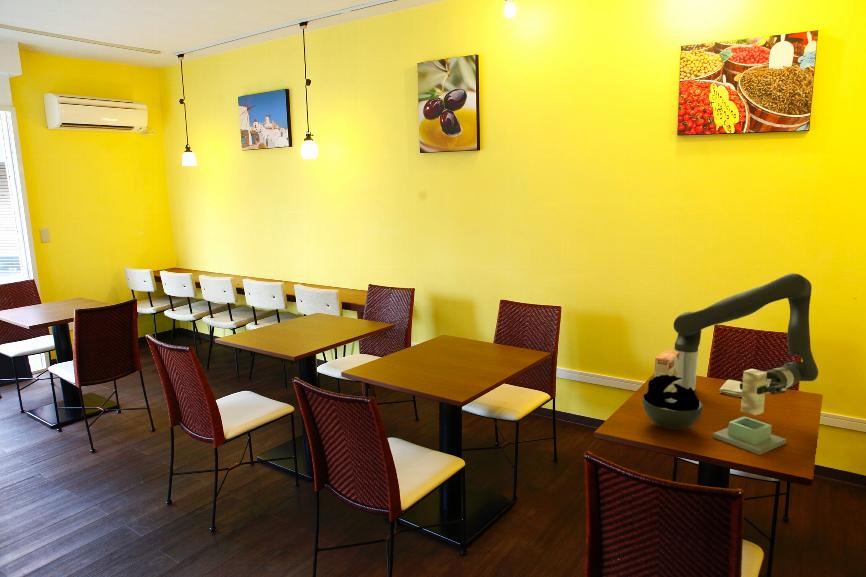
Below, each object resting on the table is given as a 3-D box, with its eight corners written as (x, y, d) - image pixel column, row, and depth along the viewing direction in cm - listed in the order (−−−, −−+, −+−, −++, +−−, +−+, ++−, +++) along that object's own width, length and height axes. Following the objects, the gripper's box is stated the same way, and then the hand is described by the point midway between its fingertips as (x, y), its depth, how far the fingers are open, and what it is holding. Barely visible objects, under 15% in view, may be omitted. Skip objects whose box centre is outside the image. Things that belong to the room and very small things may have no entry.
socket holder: (712, 437, 197) (714, 420, 196) (738, 427, 205) (740, 411, 204) (759, 455, 184) (761, 437, 183) (785, 443, 192) (787, 426, 191)
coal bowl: (651, 412, 219) (654, 365, 216) (707, 425, 207) (711, 376, 203) (632, 429, 204) (635, 378, 201) (691, 444, 191) (695, 391, 188)
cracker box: (667, 412, 219) (670, 359, 216) (650, 408, 223) (654, 357, 219) (676, 401, 230) (680, 351, 227) (661, 398, 234) (664, 349, 230)
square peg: (740, 410, 193) (743, 371, 191) (748, 407, 196) (751, 368, 194) (755, 415, 189) (758, 375, 187) (763, 412, 192) (766, 372, 190)
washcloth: (718, 395, 239) (718, 388, 239) (726, 383, 253) (727, 376, 253) (750, 401, 232) (751, 393, 232) (756, 389, 246) (757, 382, 246)
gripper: (756, 364, 204) (729, 372, 195) (799, 374, 192) (772, 384, 183) (755, 384, 205) (727, 393, 196) (797, 395, 193) (770, 406, 184)
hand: (749, 388), depth 190 cm, fingers closed on square peg, 5 cm apart
